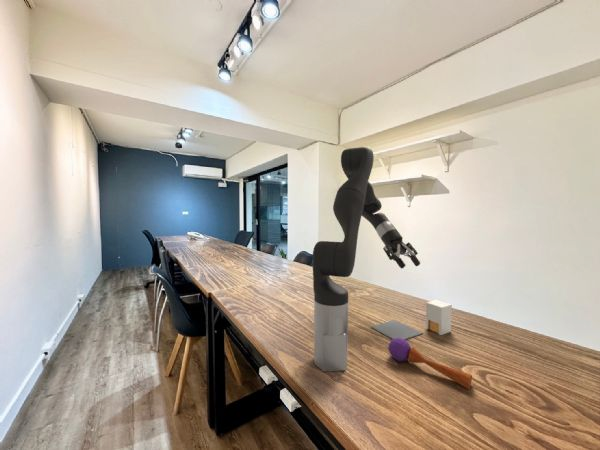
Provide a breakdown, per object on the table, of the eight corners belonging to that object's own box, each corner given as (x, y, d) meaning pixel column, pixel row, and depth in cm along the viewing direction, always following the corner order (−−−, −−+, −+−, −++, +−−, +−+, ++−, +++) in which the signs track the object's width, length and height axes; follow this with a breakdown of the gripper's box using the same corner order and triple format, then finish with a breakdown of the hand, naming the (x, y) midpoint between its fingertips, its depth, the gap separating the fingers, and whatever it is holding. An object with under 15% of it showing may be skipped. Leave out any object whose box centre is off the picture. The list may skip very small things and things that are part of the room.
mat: (422, 334, 88) (422, 332, 87) (398, 342, 82) (398, 341, 82) (394, 320, 98) (394, 319, 98) (370, 327, 92) (370, 326, 92)
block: (447, 331, 90) (447, 320, 90) (440, 334, 88) (440, 322, 88) (436, 327, 93) (436, 316, 93) (429, 329, 91) (429, 318, 91)
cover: (450, 331, 89) (451, 304, 89) (440, 335, 87) (441, 307, 86) (435, 325, 94) (436, 299, 94) (425, 328, 92) (426, 302, 91)
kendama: (467, 379, 58) (384, 341, 72) (465, 400, 59) (384, 359, 73) (474, 364, 62) (394, 330, 76) (472, 384, 63) (394, 347, 77)
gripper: (381, 229, 103) (404, 262, 94) (405, 227, 110) (429, 258, 101) (371, 240, 108) (392, 273, 99) (395, 239, 115) (417, 269, 106)
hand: (411, 266), depth 100 cm, fingers open, 8 cm apart
